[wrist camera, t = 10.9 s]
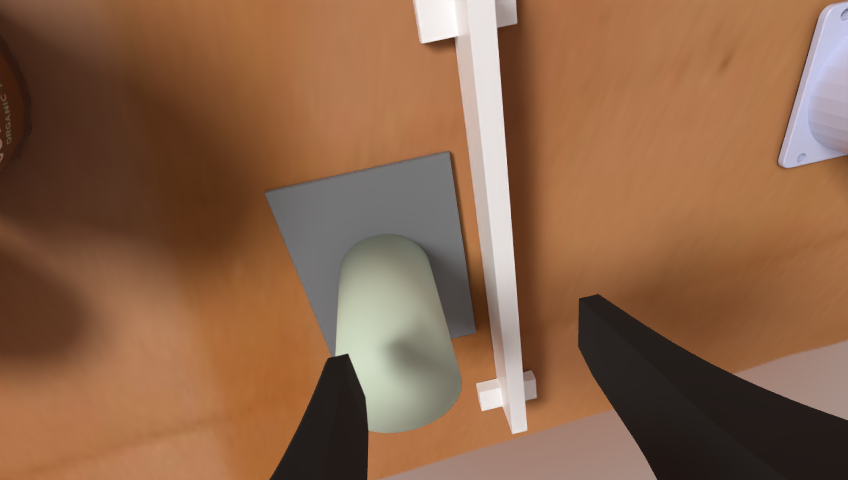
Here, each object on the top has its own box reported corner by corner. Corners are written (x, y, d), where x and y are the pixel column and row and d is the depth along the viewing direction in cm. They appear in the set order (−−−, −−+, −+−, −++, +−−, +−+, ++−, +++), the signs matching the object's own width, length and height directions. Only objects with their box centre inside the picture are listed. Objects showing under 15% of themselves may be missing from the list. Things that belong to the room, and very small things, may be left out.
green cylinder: (422, 225, 22) (453, 331, 15) (436, 297, 24) (468, 416, 18) (328, 245, 22) (316, 363, 15) (352, 316, 24) (352, 444, 18)
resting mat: (448, 150, 20) (449, 152, 20) (475, 329, 27) (476, 333, 26) (265, 190, 20) (264, 193, 20) (336, 362, 26) (336, 365, 26)
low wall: (507, -33, 17) (535, -38, 14) (532, 388, 30) (549, 425, 28) (410, -13, 17) (421, -14, 14) (479, 401, 30) (490, 439, 28)
